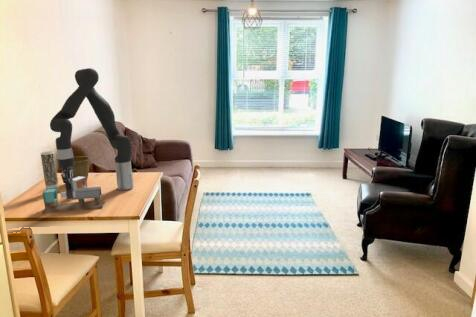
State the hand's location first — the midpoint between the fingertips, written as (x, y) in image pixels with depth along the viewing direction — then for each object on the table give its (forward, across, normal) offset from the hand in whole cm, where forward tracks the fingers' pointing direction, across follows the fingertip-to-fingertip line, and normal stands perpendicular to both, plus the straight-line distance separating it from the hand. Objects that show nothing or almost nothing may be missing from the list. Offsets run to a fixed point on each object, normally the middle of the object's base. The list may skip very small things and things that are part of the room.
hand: (69, 188), depth 186 cm
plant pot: (+11, +47, +7) cm, 49 cm away
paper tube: (+11, +28, +18) cm, 35 cm away
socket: (+6, 0, +10) cm, 12 cm away
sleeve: (+5, 0, -9) cm, 11 cm away
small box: (+11, +20, +1) cm, 23 cm away
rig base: (+11, 0, -2) cm, 11 cm away
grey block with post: (+5, 0, -5) cm, 7 cm away
